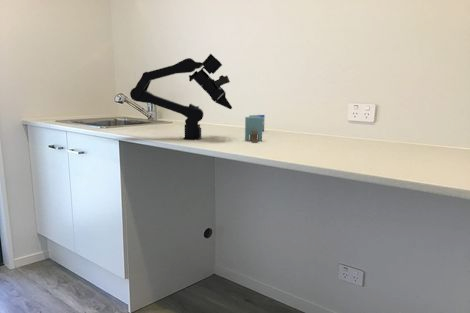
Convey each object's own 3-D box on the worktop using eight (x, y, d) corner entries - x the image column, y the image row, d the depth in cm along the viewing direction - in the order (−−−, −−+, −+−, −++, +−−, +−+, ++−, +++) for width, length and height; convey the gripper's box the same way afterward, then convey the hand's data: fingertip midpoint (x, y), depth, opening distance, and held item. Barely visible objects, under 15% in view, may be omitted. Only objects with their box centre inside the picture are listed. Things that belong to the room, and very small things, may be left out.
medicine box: (255, 132, 186) (256, 115, 185) (248, 132, 189) (248, 115, 187) (264, 131, 193) (264, 114, 191) (257, 130, 195) (257, 114, 194)
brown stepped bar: (257, 142, 155) (257, 130, 154) (252, 142, 155) (252, 130, 154) (254, 138, 167) (254, 127, 166) (249, 138, 167) (249, 127, 166)
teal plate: (245, 141, 159) (246, 117, 157) (245, 139, 162) (245, 117, 160) (261, 141, 160) (262, 117, 158) (261, 139, 163) (261, 117, 161)
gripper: (219, 67, 151) (246, 95, 153) (218, 69, 169) (242, 94, 172) (199, 87, 152) (226, 114, 154) (201, 86, 170) (225, 111, 173)
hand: (231, 107), depth 163 cm, fingers open, 9 cm apart
